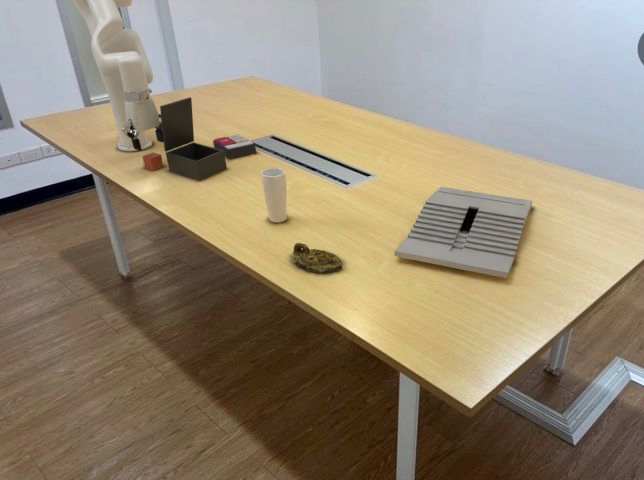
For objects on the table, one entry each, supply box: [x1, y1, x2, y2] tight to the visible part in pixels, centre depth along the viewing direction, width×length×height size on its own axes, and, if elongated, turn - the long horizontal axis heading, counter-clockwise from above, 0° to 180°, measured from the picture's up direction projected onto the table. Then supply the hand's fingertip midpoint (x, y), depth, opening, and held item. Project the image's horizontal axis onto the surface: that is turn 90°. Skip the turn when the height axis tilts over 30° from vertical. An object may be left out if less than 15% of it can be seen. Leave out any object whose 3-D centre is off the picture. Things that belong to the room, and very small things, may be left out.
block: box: [142, 152, 165, 171], centre depth 197 cm, size 4×4×4 cm
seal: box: [292, 242, 343, 274], centre depth 144 cm, size 9×5×15 cm
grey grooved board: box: [394, 186, 533, 279], centre depth 157 cm, size 44×29×4 cm, turn 162°
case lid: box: [159, 96, 195, 153], centre depth 191 cm, size 16×13×1 cm
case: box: [165, 141, 228, 182], centre depth 195 cm, size 16×13×7 cm
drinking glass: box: [260, 167, 288, 224], centre depth 161 cm, size 7×7×15 cm
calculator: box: [212, 133, 257, 160], centre depth 211 cm, size 11×4×15 cm
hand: (149, 145), depth 193 cm, fingers open, 9 cm apart
